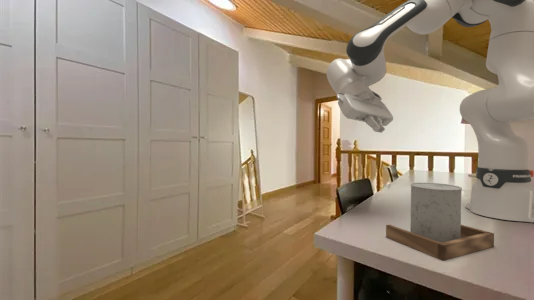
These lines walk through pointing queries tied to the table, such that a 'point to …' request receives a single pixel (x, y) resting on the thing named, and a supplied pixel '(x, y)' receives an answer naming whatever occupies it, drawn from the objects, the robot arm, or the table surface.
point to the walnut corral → (466, 244)
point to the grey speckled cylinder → (436, 211)
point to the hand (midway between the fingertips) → (380, 130)
